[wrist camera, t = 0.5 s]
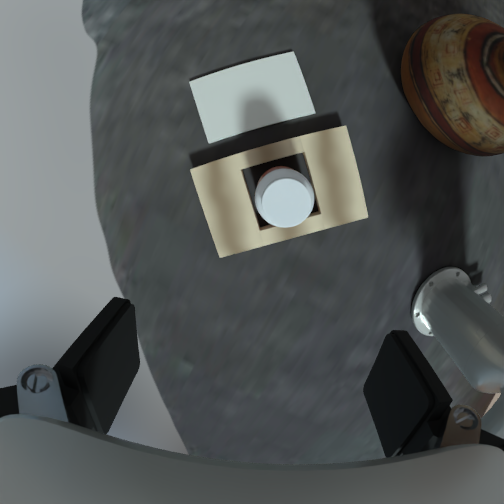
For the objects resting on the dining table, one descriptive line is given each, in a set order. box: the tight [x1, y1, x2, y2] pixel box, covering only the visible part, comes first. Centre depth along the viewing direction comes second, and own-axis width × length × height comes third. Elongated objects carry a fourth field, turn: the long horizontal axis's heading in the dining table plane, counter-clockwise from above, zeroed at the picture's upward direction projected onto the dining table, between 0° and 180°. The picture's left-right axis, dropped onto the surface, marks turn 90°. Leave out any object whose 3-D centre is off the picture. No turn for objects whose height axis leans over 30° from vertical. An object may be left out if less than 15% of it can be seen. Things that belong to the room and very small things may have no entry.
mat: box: [189, 52, 315, 144], centre depth 33 cm, size 14×9×1 cm, turn 107°
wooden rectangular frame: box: [190, 126, 368, 258], centre depth 36 cm, size 20×12×2 cm, turn 107°
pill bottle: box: [255, 166, 314, 228], centre depth 32 cm, size 6×6×11 cm
